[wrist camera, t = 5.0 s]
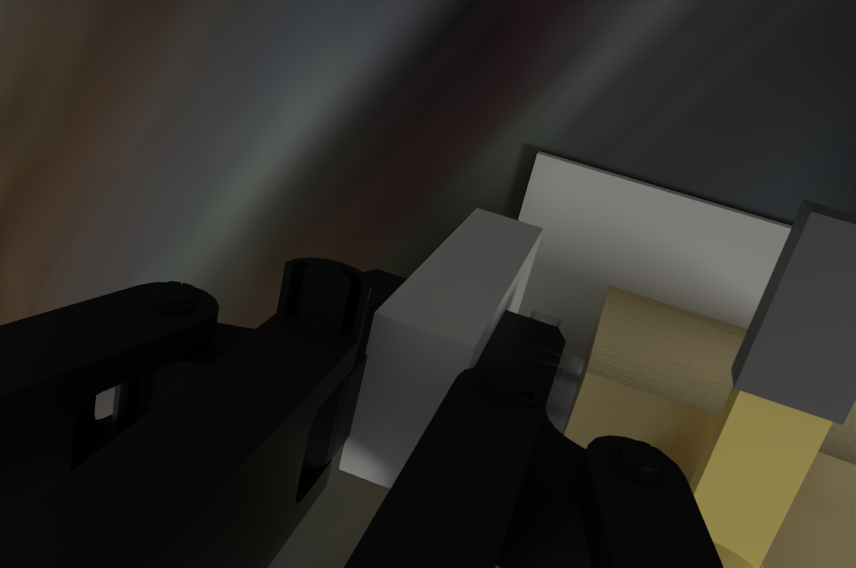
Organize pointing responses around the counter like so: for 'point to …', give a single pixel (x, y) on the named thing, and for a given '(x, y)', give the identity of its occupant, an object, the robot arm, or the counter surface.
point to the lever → (783, 388)
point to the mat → (639, 248)
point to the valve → (695, 413)
